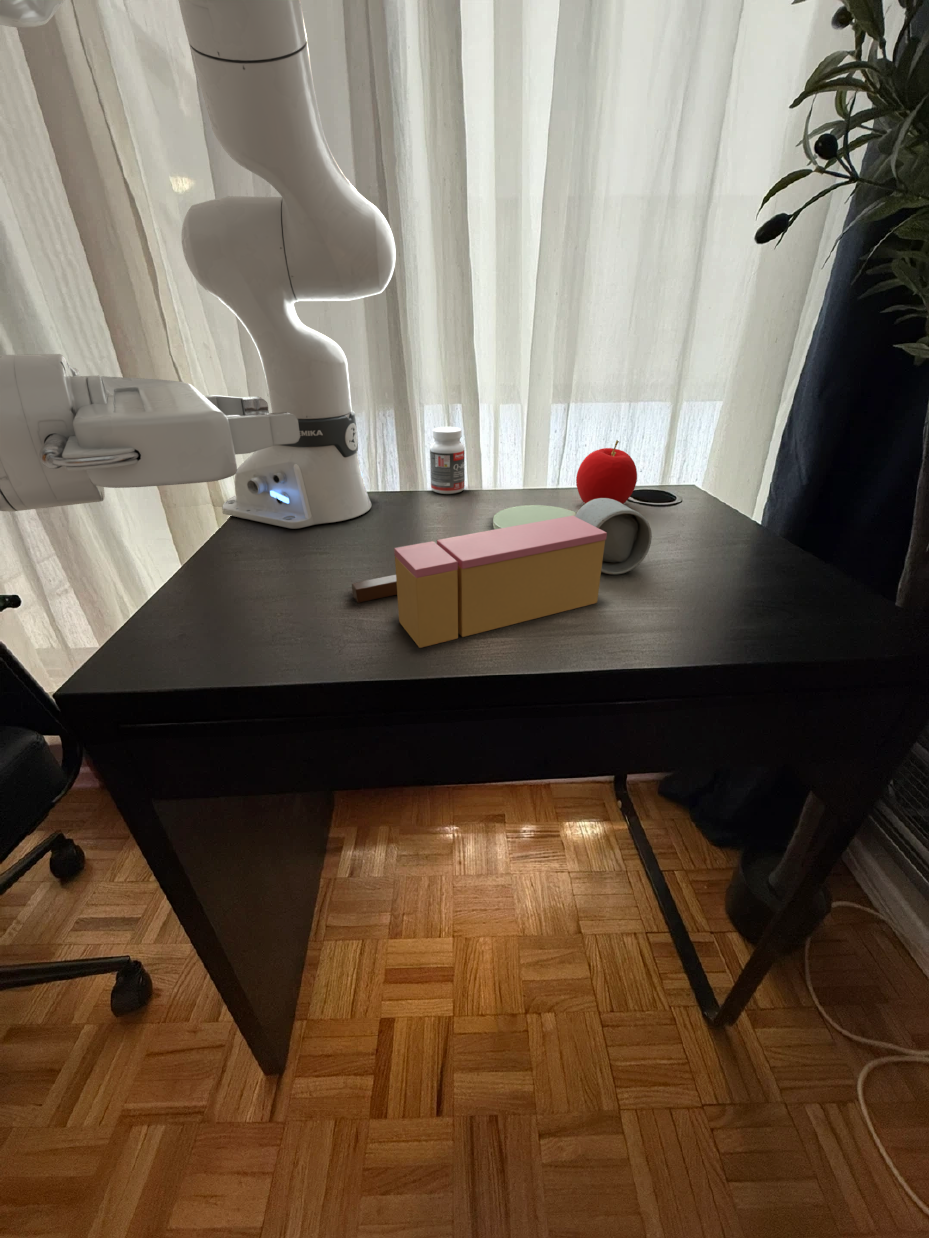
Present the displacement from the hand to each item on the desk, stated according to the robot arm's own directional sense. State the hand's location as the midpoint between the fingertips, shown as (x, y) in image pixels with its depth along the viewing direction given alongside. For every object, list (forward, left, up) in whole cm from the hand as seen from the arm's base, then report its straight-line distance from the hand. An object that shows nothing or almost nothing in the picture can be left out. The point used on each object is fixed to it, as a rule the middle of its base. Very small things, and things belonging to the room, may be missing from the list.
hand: (280, 417), depth 41 cm
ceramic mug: (+22, +29, -21) cm, 42 cm away
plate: (+13, +40, -21) cm, 47 cm away
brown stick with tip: (+5, +18, -21) cm, 28 cm away
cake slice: (+8, +8, -21) cm, 23 cm away
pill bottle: (-5, +53, -21) cm, 57 cm away
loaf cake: (+15, +15, -21) cm, 30 cm away
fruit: (+21, +52, -21) cm, 59 cm away
